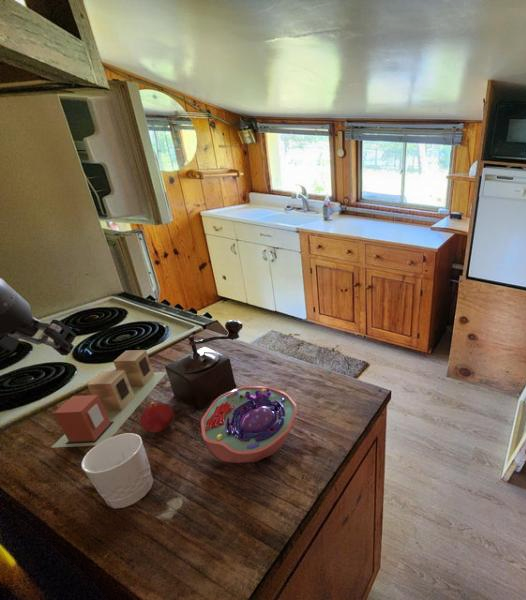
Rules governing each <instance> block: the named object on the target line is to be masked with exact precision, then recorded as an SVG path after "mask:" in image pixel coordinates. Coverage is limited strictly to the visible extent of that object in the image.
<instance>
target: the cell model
mask: <svg viewBox="0 0 526 600" xmlns="http://www.w3.org/2000/svg"><path fill="white" fill-rule="evenodd" d="M208 407H209V408H207V410H206V412H205V413H204V415H203V416H202V418H201V420H200V427H201V435H202V441H203V444H204V446H205V447H206V448H207V450H208V451H209V452H210V453H211V454H212V455H213V456H214V457H216V458H217V459H218V460H220V461H221V462H223V463H230V464H231V463H235V464H237V463H238V464H240V463H241V464H244V463H247V464H248V463H256V462H258V461H261V460H263V459H265V458H268V457H270V456H272V455H274V454H275V453H277V452H278V450H279V449H280V448H281V447H283V445H284V444H285V443H286V441H287V440H288V438H289V435H290V433H291V430H292V428H293V426H294V423H295V419H296V416H297V413H298V405H297V403H296V402H295V401H294V400H293V399H292V398H291V396H290V395H289V394H287V392H284V391H282V390H280V389H278V388H274V387H270V386H261V385H258V386H257V385H245V386H241V387H238V388H234V389H233V390H232V391H230V392H227V393H225V394H223V395H221V396H219V397H218V398H217V399H216V400H215V401H214V402H213V403H212V404H211V405H209V406H208Z"/></svg>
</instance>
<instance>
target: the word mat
mask: <svg viewBox="0 0 526 600" xmlns="http://www.w3.org/2000/svg"><path fill="white" fill-rule="evenodd" d="M153 372H154V376H153V377H152V378H151V379H150V380H149V381H148V383H147V384H146V385H145V386H144V387H131V388H132V391H133V394H134V396H135V397H134V398H133V399H132V400H131V401H130V403H129V404H128V405H127V406H126V407H125V408H124V409H123V410H122V411H109V412H106V414H107V416H108V418H109V421H110V424H109V426H108V427H107V428H106V429H105V430H104V431H103V432H102V433H101V434H100V436H99V437H98V438H97V439H96V440H95V441H80V442H69V440H68V439H67V437H66V435H65V433H64V434H63V435H62V436H61V437H60V438H59V439H58V440H57V441H56V442H55V443H54V444H53V445H52V446H51V447H50V448H51V449H54V448H71V447H72V448H73V447H88V446H89V447H91V446H93V447H94V446H96V445H97V444H99V443H101V442H102V441H104V440H106V439H108V438H111V437H113V436H115V434H116V433H117V432H118V431H119V429H120V428H121V427H122V426H123V425H124V424H125V422H126V421H127V420H128V419H129V418H130V416H131V415H132V414H133V413H134V412H135V410H136V409H137V408H138V407H139V406H140V405H141V403H142V402H143V401H145V399H146V398H147V397H148V396H149V394H150V393H151V392H152V391H153V390H154V389H155V387H156V386H157V385H158V384H159V383H160V382H161V380H162V379H163V378H164V377H165V375H167V371H156V372H155V371H153Z"/></svg>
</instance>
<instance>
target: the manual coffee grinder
mask: <svg viewBox="0 0 526 600" xmlns="http://www.w3.org/2000/svg"><path fill="white" fill-rule="evenodd" d="M224 328H225V330H226V331H227V335H216V336H210V337H206V338H203V339H199V340H195V338H196V337H195V336H194V335H189V336H188V337H187V339H188V345H189V346H190V347H191V349H192V352H191V353H189V354H187V355H185V356H183V357H180V358H179V359H176V360H175V361H172V362H170V363H168V364H166V365H165V367H164V368H165V372H167V373H166V375H167V377H168V380H169V384H170V386H171V390H172V393H173V396H174V397H175V398H176V399H178V400H179V401H181V402H183V403H184V404H186V405H188V407H191V408H193V409H195V410H196V411H202V410H204V409H206V408H208V407H210V406H211V404H212V403H213V402H214V401H215V400H216V399H217V398H218V397H219V396H221V395H223V394H225V393H227V392H230V391H232V390H235V389H236V388H237V384H236V381H235V376H234V372H233V367H232V363H231V359H230V357H228V356H226V355H224V354H222V353H220V352H219V351H216V350H214V349H212V348H209V347H206V346H203V347H202V348H199V349H198V348H197V345H201V344H204V343H208V342H212V341H216V340H231V341H234V340H237V339H239V338H240V334H239V333H240V331H241V330H242V329H243V323H242V322H241V321H239V320H237V319H230V320H228V321H226V322H225V324H224Z"/></svg>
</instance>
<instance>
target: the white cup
mask: <svg viewBox="0 0 526 600" xmlns="http://www.w3.org/2000/svg"><path fill="white" fill-rule="evenodd" d="M80 467H81V470H82V471H83V472H84V474H85V475H86V477H87V479H88V480H89V481H90V483H91V485H92V486H93V487H94V489H95V490H96V491H97V493H98V494H99V495H100V497H101V498H102V499H103V501H104V502H105V503H106V505H107V506H108V507H110V508H112V509H124V508H127V507H129V506H132V505H135V504H136V503H137V502H139V501H140V500H141V499H143V498H145V496H146V495H147V494H148V493H149V492H150V491H151V489H152V487H153V484H154V481H155V480H154V478H153V477H154V476H153V474H152V470H151V469H152V468H151V464H150V461H149V457H148V454H147V452H146V449H145V446H144V442H143V439H142V437H141V436H140V435H139V434H136V433H132V432H128V433H127V432H126V433H121V434H117V435H113V436H112V437H111V438H108V439H106V440H104V441H102V442H101V443H99V444H97V445H94V446H93V447H92V448H91V449H90V450H89V451H87V453H86V454H85V455H84V456H83V458H82V460H81V463H80Z"/></svg>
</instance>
